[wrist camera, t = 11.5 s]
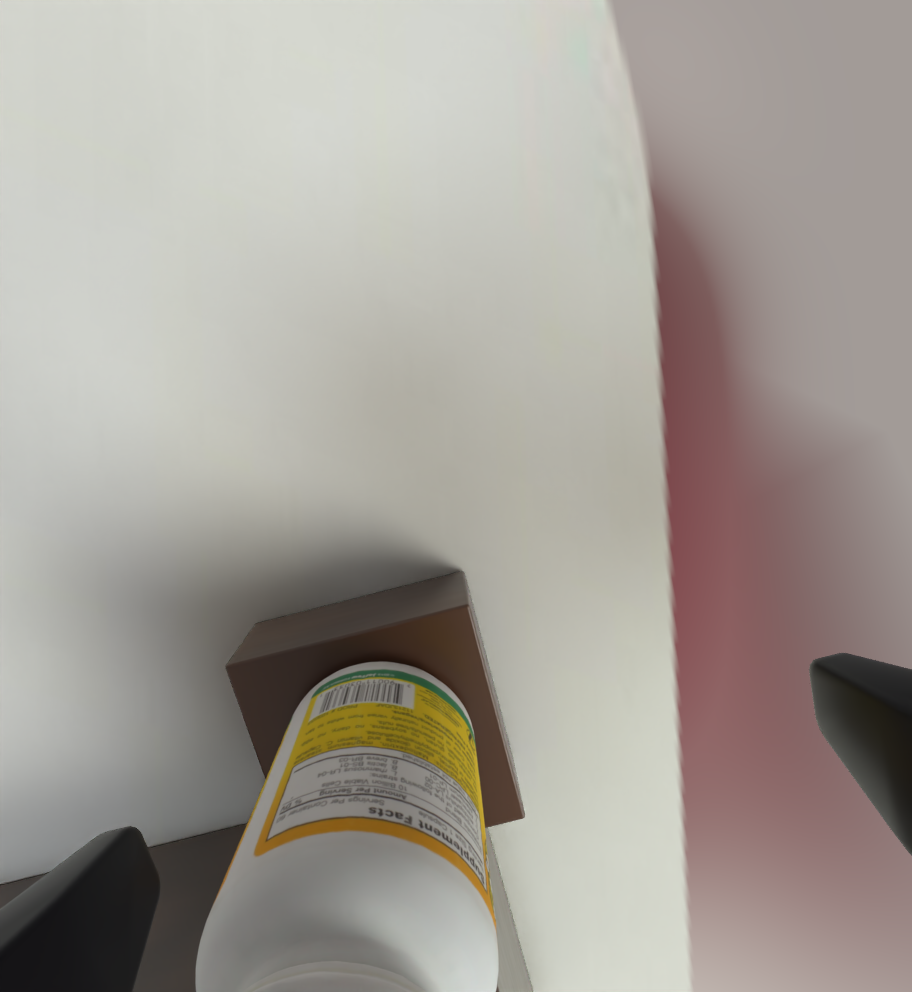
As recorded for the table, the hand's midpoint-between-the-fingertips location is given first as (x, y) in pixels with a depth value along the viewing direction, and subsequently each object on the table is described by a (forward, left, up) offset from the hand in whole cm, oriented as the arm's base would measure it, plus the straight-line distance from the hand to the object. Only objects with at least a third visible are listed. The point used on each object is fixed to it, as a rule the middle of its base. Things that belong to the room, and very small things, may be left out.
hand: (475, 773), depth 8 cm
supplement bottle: (+3, +5, -9) cm, 10 cm away
